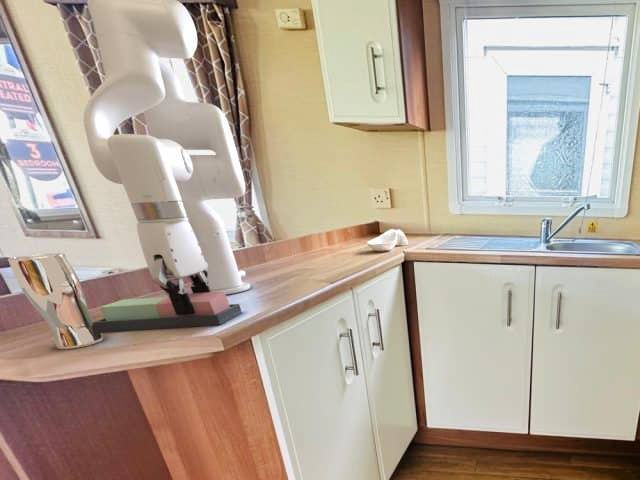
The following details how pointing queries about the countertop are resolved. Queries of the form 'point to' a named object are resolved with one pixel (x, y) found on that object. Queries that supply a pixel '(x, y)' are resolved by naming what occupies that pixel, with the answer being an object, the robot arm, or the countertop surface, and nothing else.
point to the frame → (168, 321)
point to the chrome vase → (56, 298)
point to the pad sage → (132, 309)
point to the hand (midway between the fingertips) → (196, 308)
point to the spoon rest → (387, 240)
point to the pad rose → (197, 304)
